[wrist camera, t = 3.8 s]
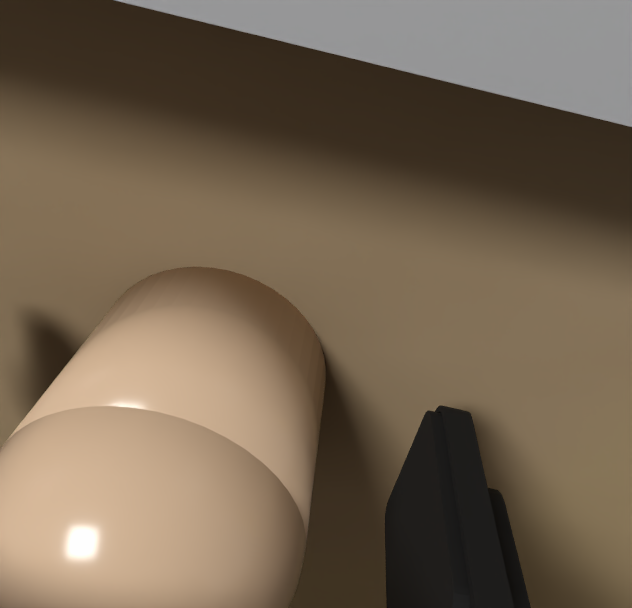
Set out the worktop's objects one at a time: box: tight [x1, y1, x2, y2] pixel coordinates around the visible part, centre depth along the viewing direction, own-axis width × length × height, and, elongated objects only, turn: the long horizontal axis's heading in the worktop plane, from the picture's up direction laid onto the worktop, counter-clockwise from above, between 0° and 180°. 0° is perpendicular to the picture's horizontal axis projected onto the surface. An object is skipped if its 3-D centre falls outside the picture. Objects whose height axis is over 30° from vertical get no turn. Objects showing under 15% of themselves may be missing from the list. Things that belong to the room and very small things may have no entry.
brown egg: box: [0, 267, 326, 608], centre depth 9 cm, size 5×5×6 cm
